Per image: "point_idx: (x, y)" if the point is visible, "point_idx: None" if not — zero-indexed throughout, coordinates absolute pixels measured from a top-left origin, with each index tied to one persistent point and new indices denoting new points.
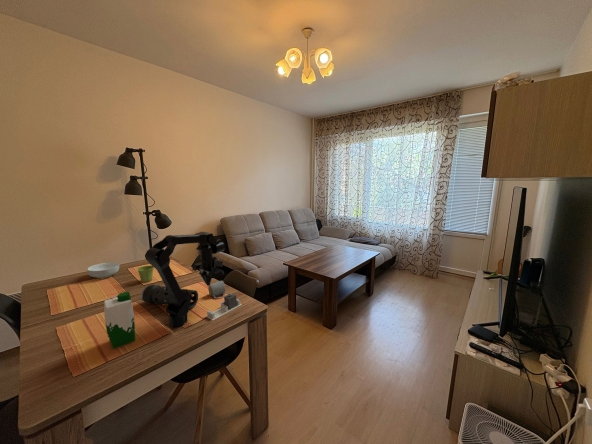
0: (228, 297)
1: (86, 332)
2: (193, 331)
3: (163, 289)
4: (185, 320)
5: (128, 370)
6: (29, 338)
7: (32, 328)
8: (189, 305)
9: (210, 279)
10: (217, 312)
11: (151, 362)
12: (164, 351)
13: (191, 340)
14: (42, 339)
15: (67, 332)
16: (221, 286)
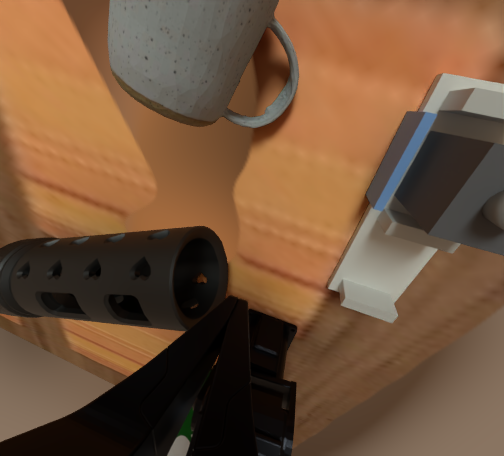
0: (493, 238)
1: (121, 358)
2: (343, 349)
3: (52, 314)
4: (282, 337)
5: (297, 428)
6: (84, 368)
7: (55, 352)
8: (294, 415)
9: (247, 398)
10: (376, 253)
11: (323, 420)
12: (323, 402)
13: (368, 379)
14: (98, 370)
15: (100, 358)
16: (231, 8)
